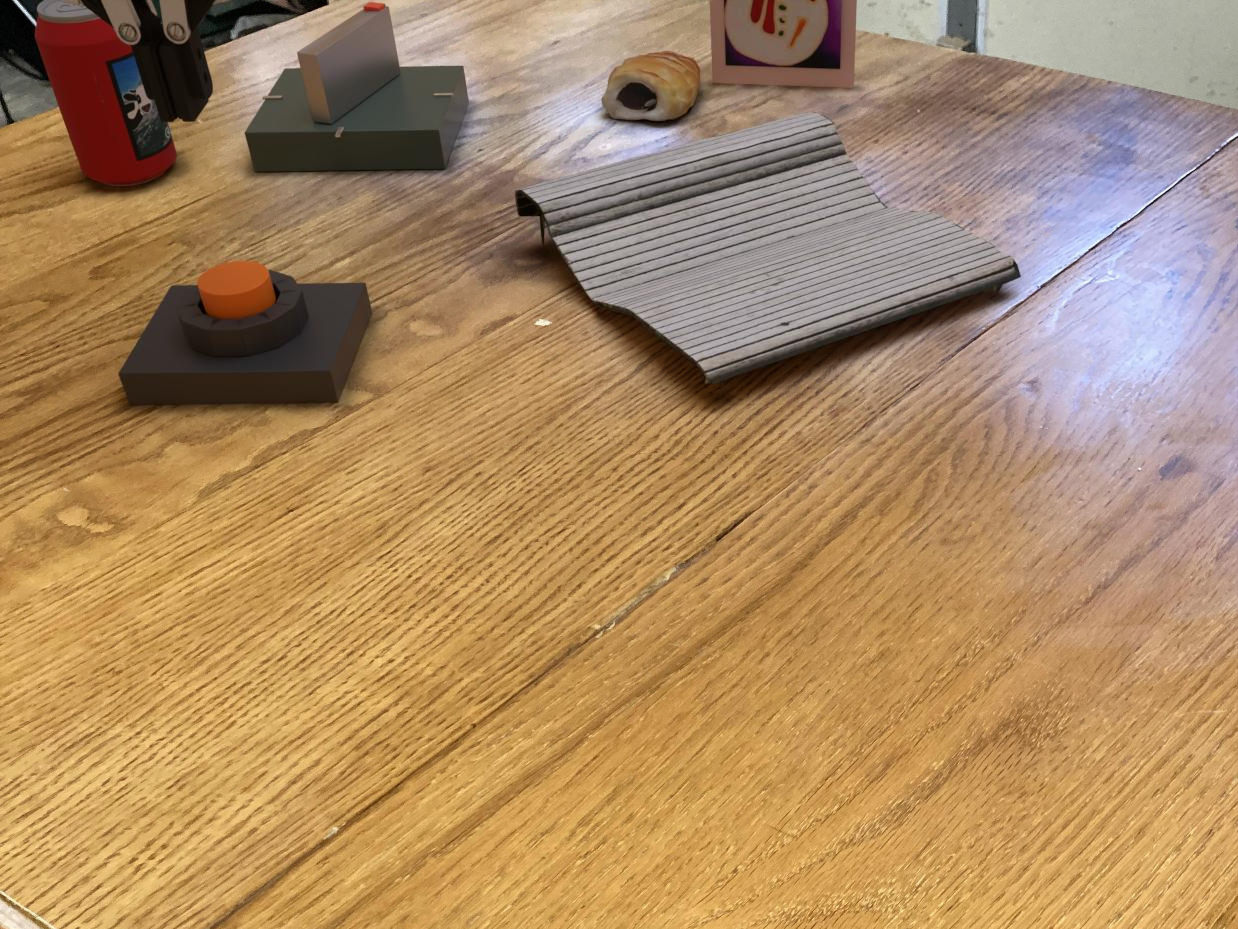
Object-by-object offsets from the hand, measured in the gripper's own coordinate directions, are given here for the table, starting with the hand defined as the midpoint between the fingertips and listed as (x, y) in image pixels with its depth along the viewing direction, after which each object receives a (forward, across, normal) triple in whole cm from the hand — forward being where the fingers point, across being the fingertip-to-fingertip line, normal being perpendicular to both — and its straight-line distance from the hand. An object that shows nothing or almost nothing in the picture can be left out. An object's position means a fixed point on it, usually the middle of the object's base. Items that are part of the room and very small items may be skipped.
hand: (186, 111), depth 75 cm
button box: (+15, 0, 0) cm, 15 cm away
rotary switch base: (+15, 0, +32) cm, 35 cm away
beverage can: (+15, -16, +26) cm, 34 cm away
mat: (+15, +30, +10) cm, 35 cm away
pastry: (+15, +22, +37) cm, 45 cm away
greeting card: (+15, +32, +43) cm, 56 cm away
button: (+11, 0, 0) cm, 11 cm away
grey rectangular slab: (+12, 0, +32) cm, 34 cm away
